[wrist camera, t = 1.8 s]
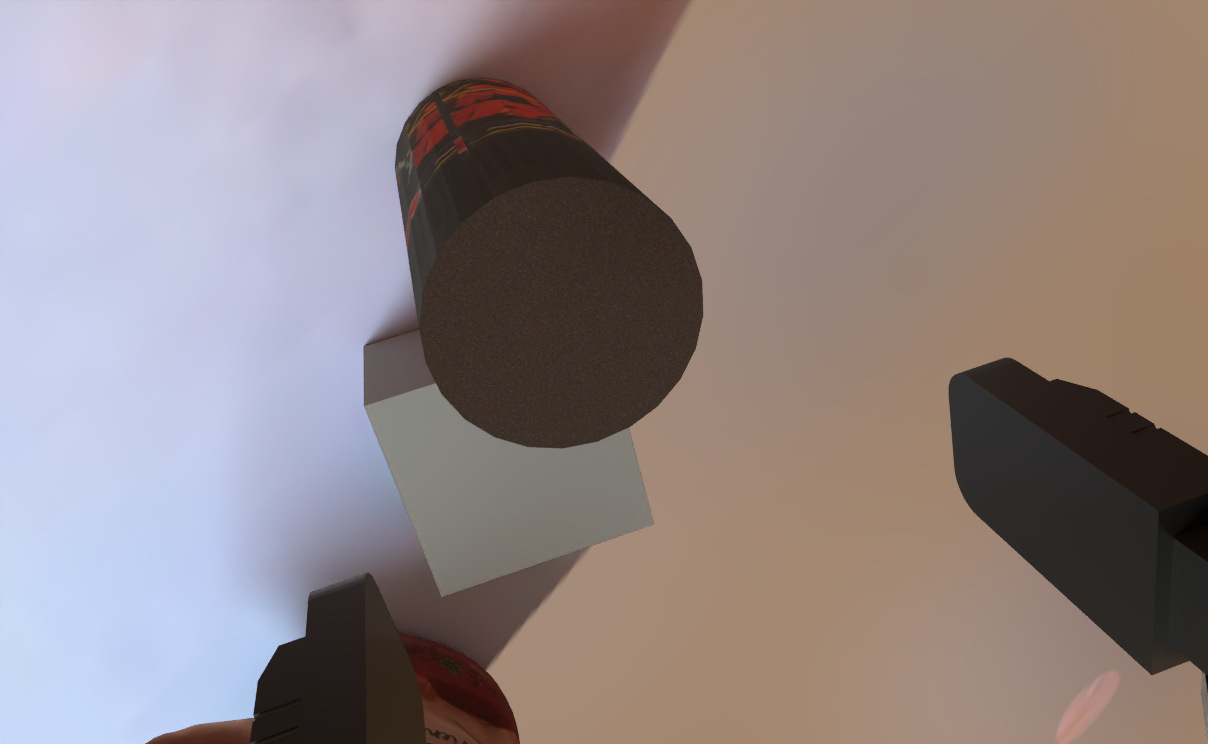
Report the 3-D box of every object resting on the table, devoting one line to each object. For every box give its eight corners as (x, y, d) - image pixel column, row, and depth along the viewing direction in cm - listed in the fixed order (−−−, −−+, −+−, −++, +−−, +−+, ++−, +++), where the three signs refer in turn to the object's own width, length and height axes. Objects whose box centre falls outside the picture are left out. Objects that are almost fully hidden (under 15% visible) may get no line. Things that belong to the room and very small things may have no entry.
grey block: (363, 346, 34) (364, 406, 30) (572, 281, 35) (603, 329, 31) (432, 520, 38) (441, 597, 33) (620, 457, 39) (654, 524, 34)
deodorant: (598, 135, 33) (756, 263, 20) (513, 277, 34) (608, 487, 21) (448, 42, 31) (513, 118, 17) (363, 199, 32) (365, 380, 19)
